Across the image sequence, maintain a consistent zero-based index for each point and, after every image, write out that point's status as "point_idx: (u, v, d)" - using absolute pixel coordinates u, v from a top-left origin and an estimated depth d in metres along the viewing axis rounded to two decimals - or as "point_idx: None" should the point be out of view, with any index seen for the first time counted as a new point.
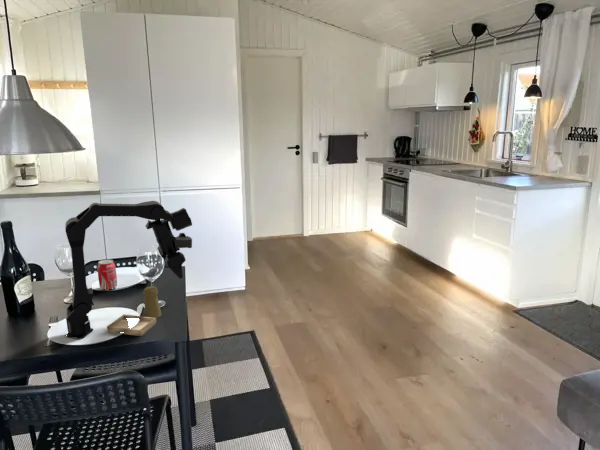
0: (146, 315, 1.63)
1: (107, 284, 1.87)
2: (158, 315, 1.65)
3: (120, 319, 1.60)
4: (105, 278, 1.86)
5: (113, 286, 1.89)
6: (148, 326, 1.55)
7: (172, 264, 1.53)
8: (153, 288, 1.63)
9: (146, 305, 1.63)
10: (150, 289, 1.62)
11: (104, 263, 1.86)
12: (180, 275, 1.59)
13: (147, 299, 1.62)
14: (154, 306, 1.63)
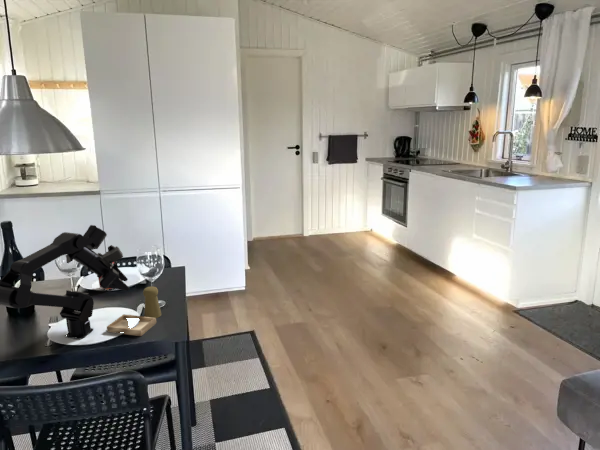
0: (146, 315, 1.63)
1: None
2: (158, 315, 1.65)
3: (120, 319, 1.60)
4: None
5: None
6: (148, 326, 1.55)
7: (106, 285, 1.48)
8: (153, 288, 1.63)
9: (146, 305, 1.63)
10: (150, 289, 1.62)
11: None
12: (125, 287, 1.55)
13: (147, 299, 1.62)
14: (154, 306, 1.63)
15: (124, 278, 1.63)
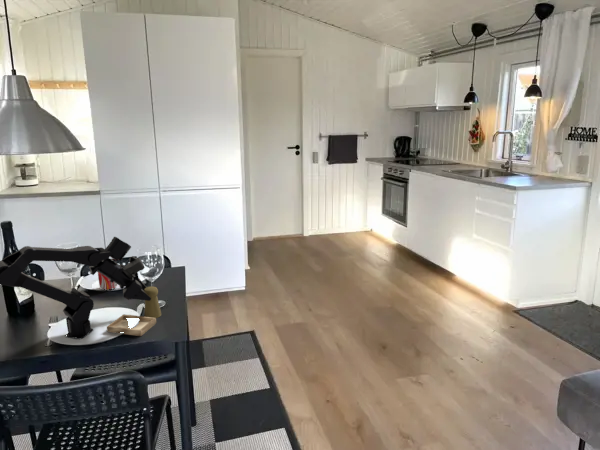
0: (146, 315, 1.63)
1: (107, 284, 1.87)
2: (158, 315, 1.65)
3: (120, 319, 1.60)
4: (105, 278, 1.86)
5: (113, 286, 1.89)
6: (148, 326, 1.55)
7: (130, 296, 1.52)
8: (153, 288, 1.63)
9: (146, 305, 1.63)
10: (150, 289, 1.62)
11: None
12: (147, 298, 1.59)
13: None
14: (154, 306, 1.63)
15: None
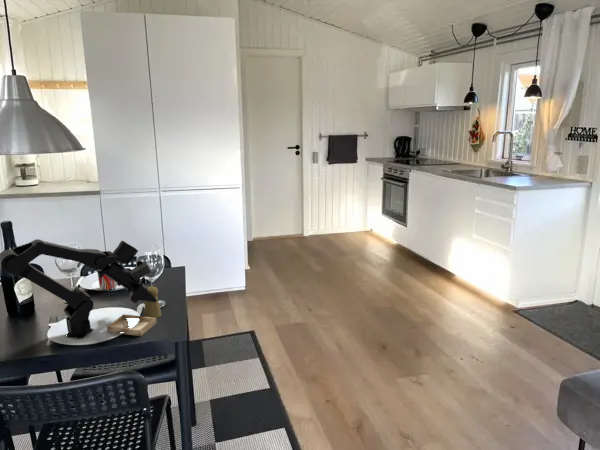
0: (146, 315, 1.63)
1: (107, 284, 1.87)
2: (158, 315, 1.65)
3: (120, 319, 1.60)
4: (105, 278, 1.86)
5: (113, 286, 1.89)
6: (148, 326, 1.55)
7: (137, 299, 1.53)
8: (153, 288, 1.63)
9: (146, 305, 1.63)
10: (150, 289, 1.62)
11: None
12: (153, 299, 1.61)
13: None
14: (154, 306, 1.63)
15: None
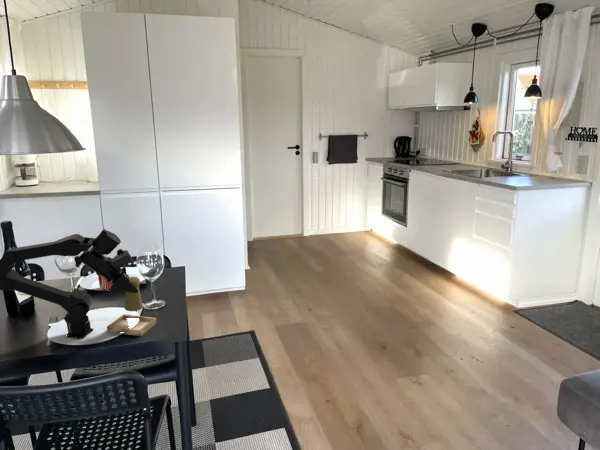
0: (127, 307, 1.55)
1: (107, 284, 1.87)
2: (139, 307, 1.56)
3: (120, 319, 1.60)
4: None
5: None
6: (148, 326, 1.55)
7: (117, 289, 1.45)
8: (135, 279, 1.55)
9: (127, 296, 1.55)
10: (131, 280, 1.54)
11: None
12: (134, 290, 1.53)
13: None
14: (135, 297, 1.55)
15: None
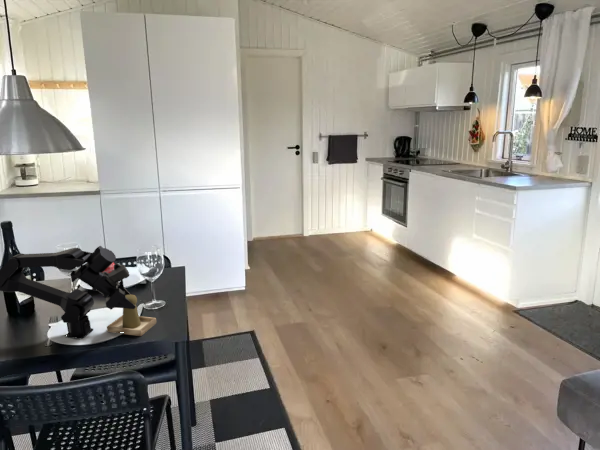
0: (124, 325, 1.54)
1: None
2: (137, 325, 1.56)
3: (120, 319, 1.60)
4: None
5: None
6: (148, 326, 1.55)
7: (112, 305, 1.43)
8: (131, 296, 1.54)
9: (124, 314, 1.54)
10: (128, 297, 1.53)
11: None
12: (131, 306, 1.51)
13: (125, 308, 1.53)
14: (132, 315, 1.54)
15: None
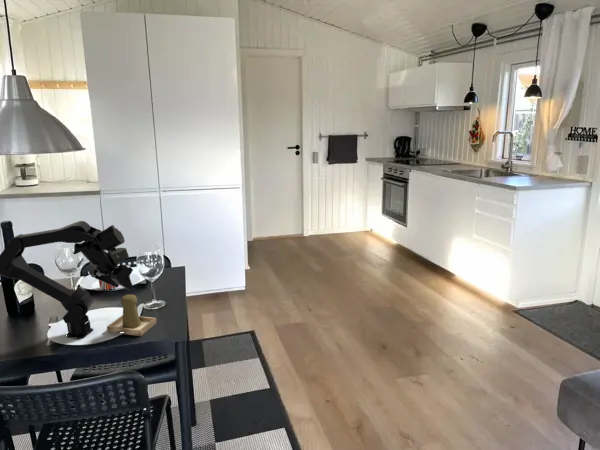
0: (124, 325, 1.54)
1: (107, 284, 1.87)
2: (137, 325, 1.56)
3: (120, 319, 1.60)
4: None
5: (113, 286, 1.89)
6: (148, 326, 1.55)
7: (122, 278, 1.45)
8: (131, 296, 1.54)
9: (124, 314, 1.54)
10: (128, 297, 1.53)
11: None
12: (131, 287, 1.52)
13: (125, 308, 1.53)
14: (132, 315, 1.54)
15: (116, 284, 1.58)
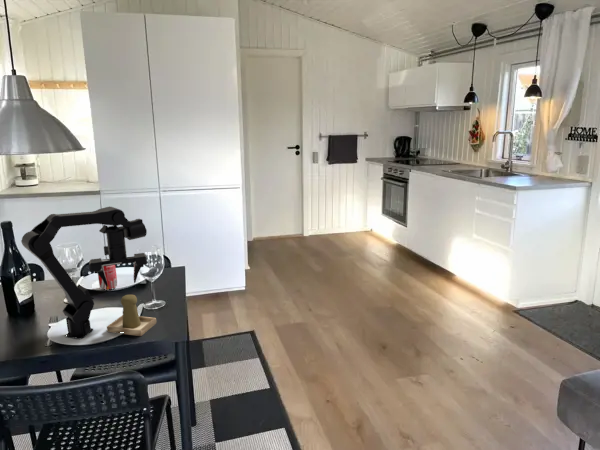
0: (124, 325, 1.54)
1: None
2: (137, 325, 1.56)
3: (120, 319, 1.60)
4: None
5: (113, 286, 1.89)
6: (148, 326, 1.55)
7: (146, 261, 1.61)
8: (131, 296, 1.54)
9: (124, 314, 1.54)
10: (128, 297, 1.53)
11: None
12: (136, 278, 1.63)
13: (125, 308, 1.53)
14: (132, 315, 1.54)
15: None
